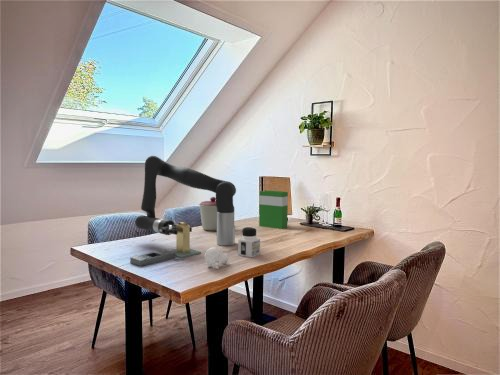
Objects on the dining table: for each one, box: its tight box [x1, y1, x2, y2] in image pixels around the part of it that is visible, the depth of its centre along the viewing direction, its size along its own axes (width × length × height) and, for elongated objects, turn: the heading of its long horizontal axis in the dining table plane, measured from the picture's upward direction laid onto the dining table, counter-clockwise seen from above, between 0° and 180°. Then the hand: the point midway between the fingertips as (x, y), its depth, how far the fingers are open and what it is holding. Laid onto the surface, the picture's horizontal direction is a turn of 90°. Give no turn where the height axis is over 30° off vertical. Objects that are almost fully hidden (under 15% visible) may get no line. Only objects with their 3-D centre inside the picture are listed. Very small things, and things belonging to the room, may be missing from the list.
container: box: [237, 226, 261, 258], centre depth 171 cm, size 8×8×13 cm
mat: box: [170, 248, 202, 259], centre depth 173 cm, size 12×12×1 cm
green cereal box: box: [258, 189, 289, 230], centre depth 243 cm, size 18×7×24 cm, turn 56°
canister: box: [198, 196, 217, 232], centre depth 232 cm, size 18×18×21 cm
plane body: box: [129, 249, 176, 267], centre depth 160 cm, size 18×8×2 cm, turn 139°
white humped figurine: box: [204, 246, 230, 270], centre depth 153 cm, size 6×8×12 cm
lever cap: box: [175, 221, 191, 253], centre depth 172 cm, size 4×5×14 cm
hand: (184, 231), depth 171 cm, fingers open, 8 cm apart
